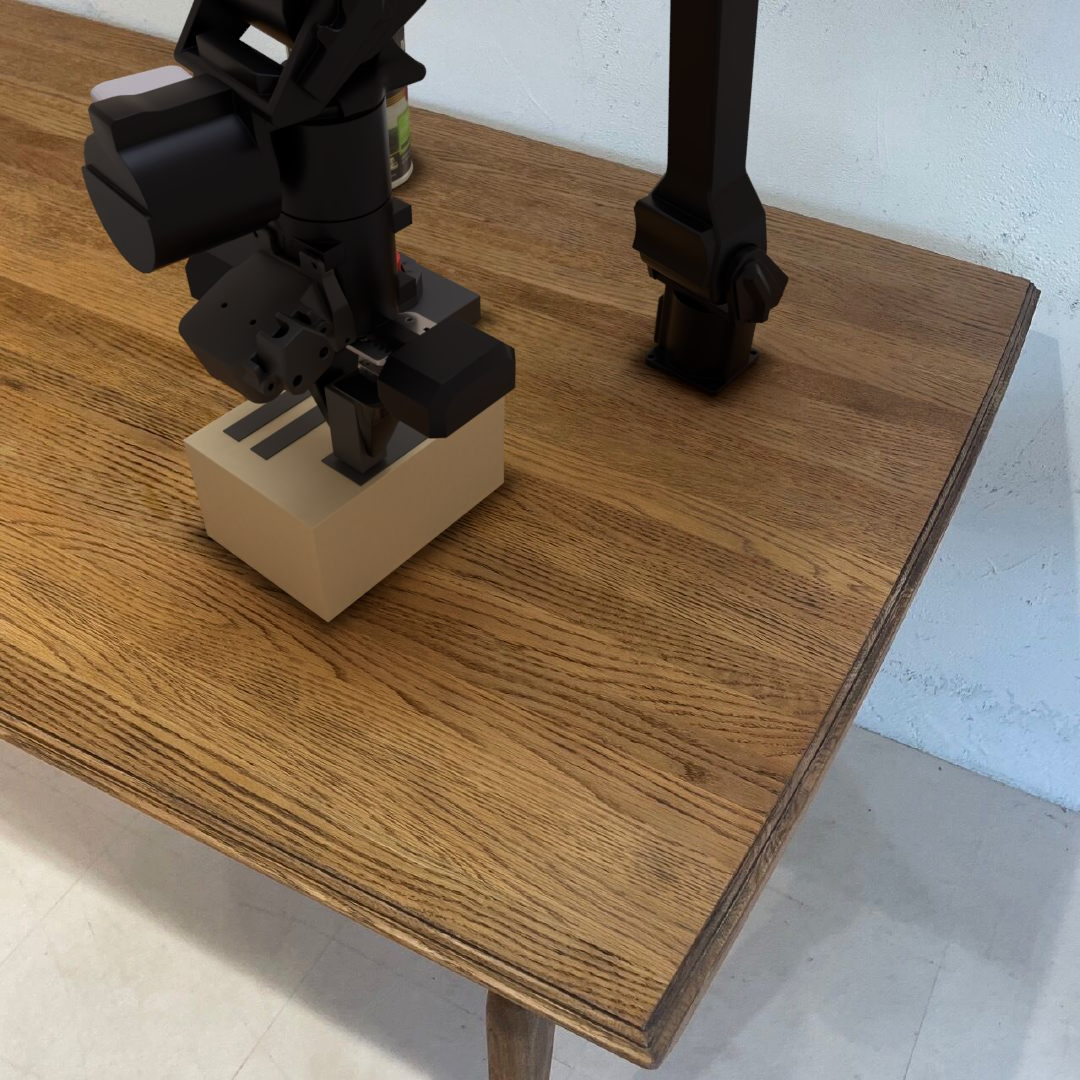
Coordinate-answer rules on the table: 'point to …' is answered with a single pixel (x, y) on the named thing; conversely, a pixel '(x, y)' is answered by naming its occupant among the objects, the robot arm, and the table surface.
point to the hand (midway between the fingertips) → (359, 442)
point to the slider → (347, 430)
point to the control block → (438, 295)
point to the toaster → (334, 495)
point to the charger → (139, 82)
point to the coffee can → (397, 127)
